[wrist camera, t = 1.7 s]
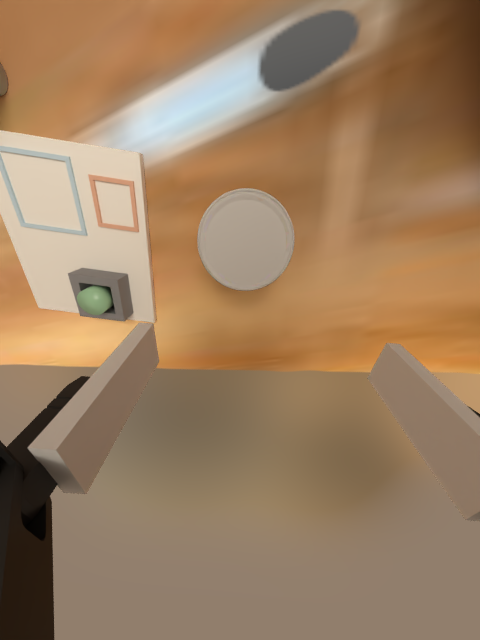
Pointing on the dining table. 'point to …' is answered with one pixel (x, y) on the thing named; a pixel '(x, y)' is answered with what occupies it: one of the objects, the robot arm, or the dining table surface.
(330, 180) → the dining table surface
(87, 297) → the button
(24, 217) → the board
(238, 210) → the coffee cup
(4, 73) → the marker
